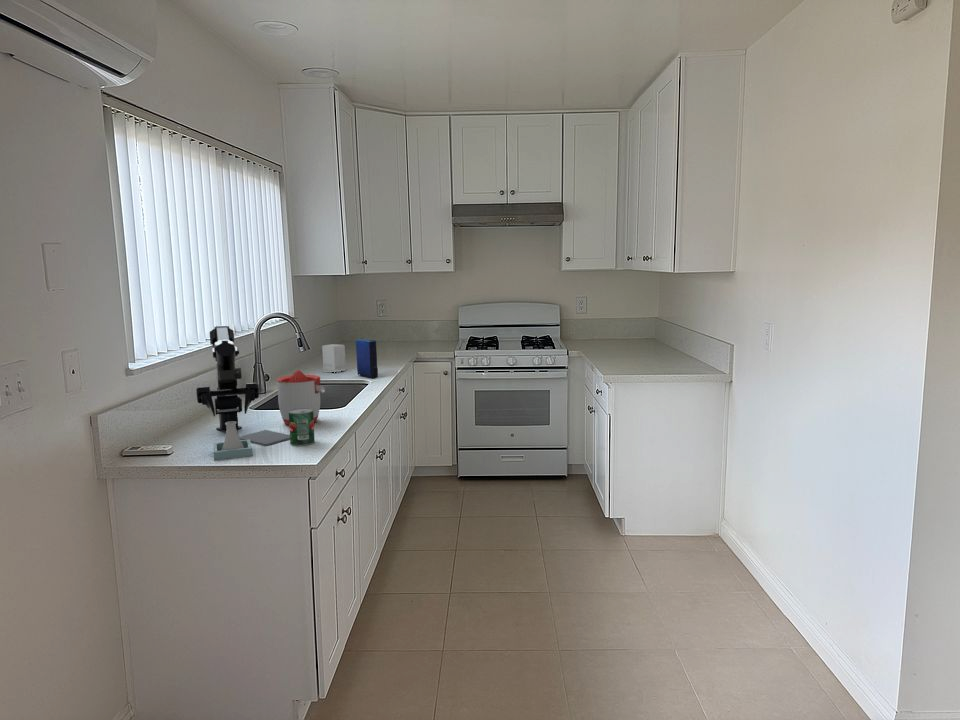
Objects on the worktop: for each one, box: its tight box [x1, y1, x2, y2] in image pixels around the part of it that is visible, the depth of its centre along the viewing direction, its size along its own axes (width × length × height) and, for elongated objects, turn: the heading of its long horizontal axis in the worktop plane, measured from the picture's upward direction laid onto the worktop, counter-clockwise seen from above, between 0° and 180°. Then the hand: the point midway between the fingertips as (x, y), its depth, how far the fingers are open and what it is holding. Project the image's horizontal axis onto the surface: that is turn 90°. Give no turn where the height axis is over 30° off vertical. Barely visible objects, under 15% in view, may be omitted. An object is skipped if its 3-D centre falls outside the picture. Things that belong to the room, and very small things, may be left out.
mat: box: [238, 429, 290, 447], centre depth 219 cm, size 16×12×1 cm
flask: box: [221, 421, 244, 451], centre depth 201 cm, size 7×7×10 cm
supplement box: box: [321, 343, 347, 374], centre depth 356 cm, size 9×9×15 cm
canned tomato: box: [288, 408, 316, 447], centre depth 212 cm, size 8×8×11 cm
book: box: [355, 338, 379, 379], centre depth 337 cm, size 14×5×20 cm, turn 43°
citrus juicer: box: [276, 369, 326, 426], centre depth 239 cm, size 16×17×20 cm
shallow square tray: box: [212, 439, 254, 461], centre depth 201 cm, size 11×11×2 cm
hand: (230, 414), depth 204 cm, fingers open, 9 cm apart
